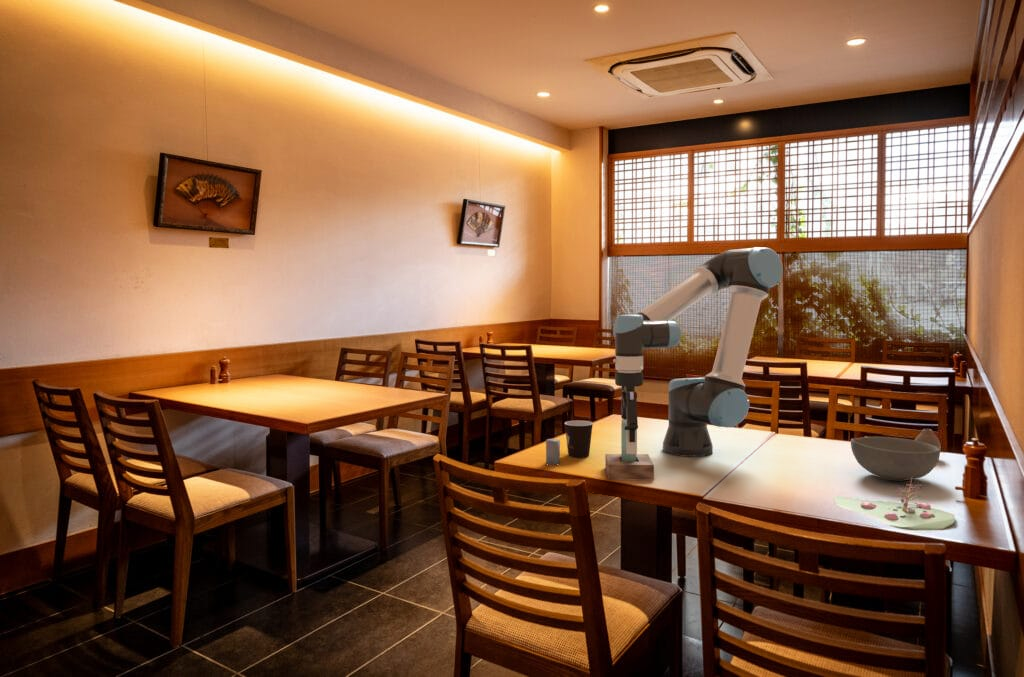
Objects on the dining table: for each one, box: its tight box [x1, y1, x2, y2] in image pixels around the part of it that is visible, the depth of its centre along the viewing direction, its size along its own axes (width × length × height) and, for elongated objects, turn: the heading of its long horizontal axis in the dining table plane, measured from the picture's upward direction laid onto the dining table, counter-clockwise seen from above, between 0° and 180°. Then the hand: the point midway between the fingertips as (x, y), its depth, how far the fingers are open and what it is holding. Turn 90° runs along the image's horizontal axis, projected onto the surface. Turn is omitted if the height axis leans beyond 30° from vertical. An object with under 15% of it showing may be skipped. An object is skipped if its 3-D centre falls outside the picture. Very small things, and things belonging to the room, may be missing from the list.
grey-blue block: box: [545, 438, 561, 466], centre depth 197 cm, size 4×4×7 cm
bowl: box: [850, 436, 941, 482], centre depth 178 cm, size 20×20×10 cm
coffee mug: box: [564, 420, 594, 459], centre depth 208 cm, size 12×9×10 cm
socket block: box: [604, 453, 655, 481], centre depth 186 cm, size 12×12×4 cm
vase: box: [914, 428, 942, 452], centre depth 198 cm, size 7×7×9 cm
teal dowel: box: [620, 422, 636, 462], centre depth 186 cm, size 4×4×14 cm
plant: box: [833, 478, 956, 531], centre depth 152 cm, size 25×21×9 cm
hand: (628, 447), depth 186 cm, fingers open, 13 cm apart
